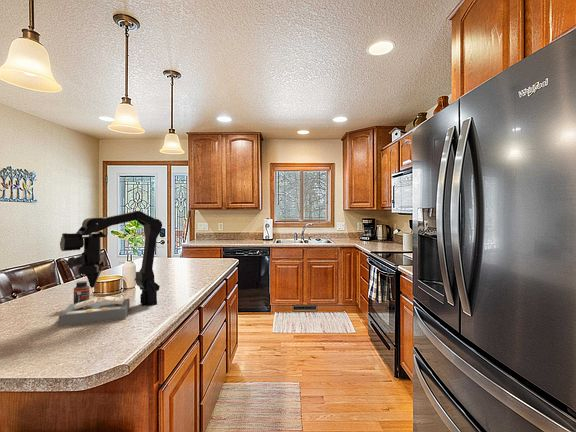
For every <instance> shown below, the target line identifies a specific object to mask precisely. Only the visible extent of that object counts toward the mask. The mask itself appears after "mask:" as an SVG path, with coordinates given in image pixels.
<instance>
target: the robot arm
mask: <svg viewBox="0 0 576 432" xmlns="http://www.w3.org/2000/svg"><path fill="white" fill-rule="evenodd" d="M133 221H136V222H137V223H138V224H140V225H141V226H143V233H144V237H145V239H144V240H145V241H144V247H143V253H142V254H143V255H142V262H141V268H140V269H139V271H135V278H134V281H135V284H136V286H137V287H139V289H140V290H141V293H140V296H139V297H140V300H139V301H140V304H141V307H143V306H144V307H145V306H154V305H157V304H158V292H159V290H160V288H161V287H160V285H159V284H158V283H157V282H155V273H154V270H153V268H154V260H155V252H156V247H157V246H156V245H157V239H158V237H159V235H160V233H161V230H162V227H163V222H162V221H161V220H160V219H158V218H154V217H152V216H151V215H148V214H146V213H144V212H143V211H141V210H134V211H130V212H126V213H125V212H124V213H121V214H117V215H111V216H107V217H105V216H104V217H88V218H85V219H84V220H83V221H82V223H81V226H80V228H78V230H77V231H76V232H75V233H67V232H65V233H64V232H63V233H62V234H61V237H60V241H59V248H60V250H61V252H69V251H80V250H81V248H83V252H82V253H81V255H80V256H76V257H74V256H71V257H69V258H68V259H67V260H66V261H65V262H66V264H65V265H66V266H67V267H68V269H73V268H75V267H77V266H79V267H78V268H77V274H78V275H83V274H84V275H85V276H86V278H87V282H88V284H89V288H91V289H93V288H95V286H96V284H97V283H98V279H99V277H100V275H101V273H102V271H103V268H102V267H105V266H106V261H105V260H104V259H101V254H102V250H101V244H102V243H101V238H107V235H106V234H105V233H104V232H102V231H103V230H105V229H108V228H110V227H112V226H116V225H121V224H124V223H127V222H128V223H130V222H133ZM100 266H101V267H100Z"/></svg>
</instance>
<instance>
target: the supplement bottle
mask: <svg viewBox="0 0 576 432" xmlns="http://www.w3.org/2000/svg"><path fill="white" fill-rule="evenodd" d="M75 283H76V284H75V285H76V286H74V288H73V304H77V303H79V302H82V301H86V300H89V299H90V295H91V294H90V291H91V290H90V288H91V287H90V285H88V280H87V281H85V280H81V281H80V280H79V281H76V282H75Z"/></svg>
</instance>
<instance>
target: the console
mask: <svg viewBox="0 0 576 432" xmlns="http://www.w3.org/2000/svg"><path fill="white" fill-rule="evenodd" d="M123 299H124V302H123V304H122V305H121V304H113V303H106V302H104V300H102V301H101V300H100V301H98V300H97V301H96V302H95V303H93V304H90V305H87V306H84V307H81V308H78V309H75V308H74V306H75V305H76V304H74V303H71V304H69V305H68V306H67V307H66V308H65V309H64V310H63V311H62V312H61V313H60V314H59V315H58V327H66V326H67V327H69V326H74V325H83V324H93V323H101V322H110V321H117V320H118V321H119V320H126V319H127V316H128V313H129V310H130V306H131V305H130V298H123Z"/></svg>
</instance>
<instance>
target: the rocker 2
mask: <svg viewBox="0 0 576 432" xmlns="http://www.w3.org/2000/svg"><path fill="white" fill-rule="evenodd" d="M124 299H125V298H122V297H116V296H115V297H113V296H110V295H109V296H107V295H106V296H105V297H104V299H103V301H104V302H106V303H113V304H121V305H122V304H123V302H124Z"/></svg>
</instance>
